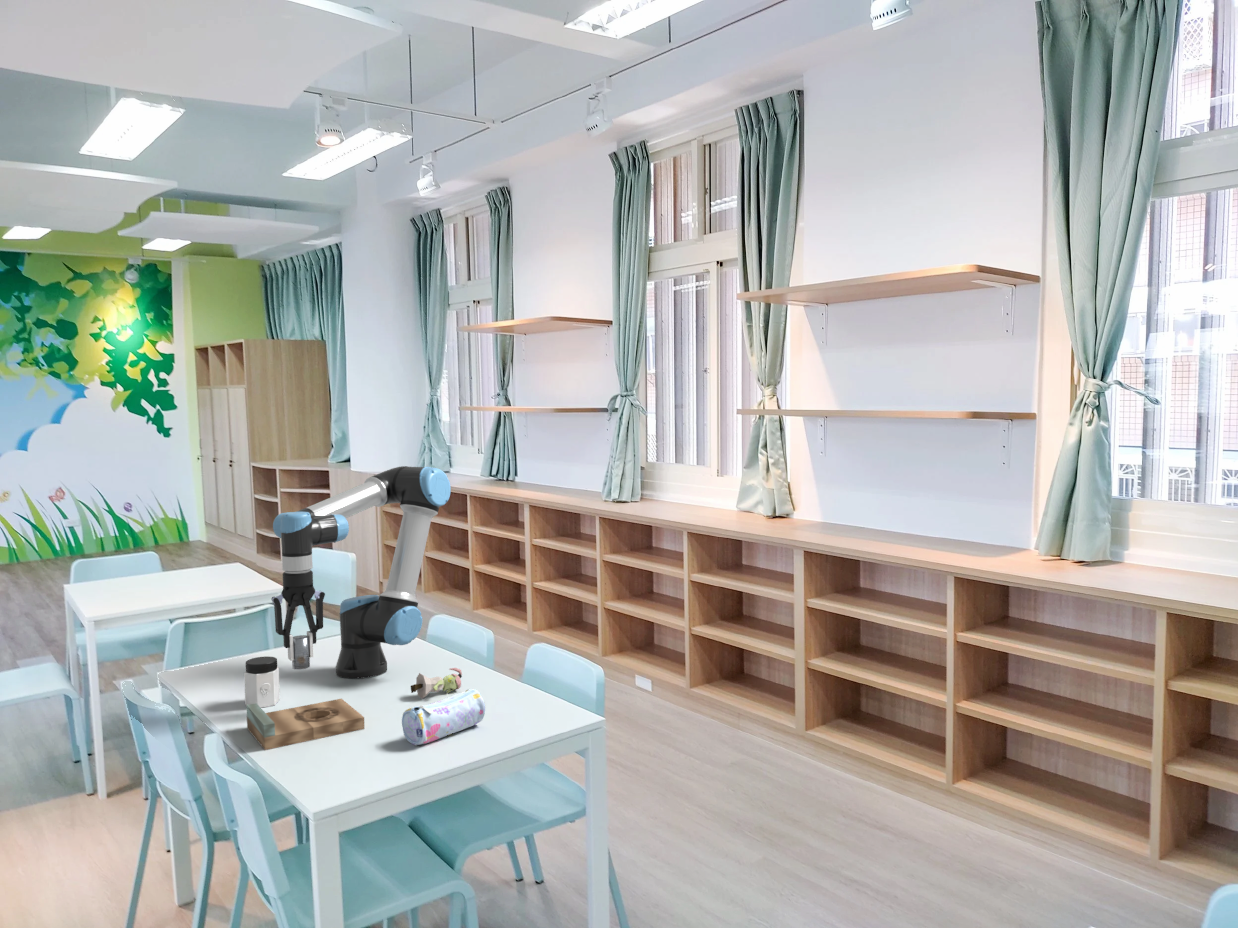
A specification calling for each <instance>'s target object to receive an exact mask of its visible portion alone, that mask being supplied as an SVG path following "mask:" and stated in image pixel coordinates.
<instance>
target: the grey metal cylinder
mask: <svg viewBox="0 0 1238 928" xmlns="http://www.w3.org/2000/svg"><path fill="white" fill-rule="evenodd" d="M293 652H294V660H293V661H292V662H291V667H292V669H293V670H304V669H305V670H306V669H308V668H310V665H311V664H310V663H311V660H310V657H309V636H307V634H305V635H304V634H303V635H301V634H299V635H294V636H293Z"/></svg>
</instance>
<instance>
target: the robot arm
mask: <svg viewBox="0 0 1238 928" xmlns="http://www.w3.org/2000/svg"><path fill="white" fill-rule="evenodd" d="M451 489H452V488H451V482H450V480H449V478H448V475H447V474H446V473H445V472H444V471H443V470H442V469H440V468H437V467H432V466H431V467H430V466H405V465H404V466H403V465H402V466H397V467H393V468H390V469H387V470H384V471H382V472H379V473H377V474H374V475H373V476H370V477H368V478H366V479H365V480H364V483H361V484H359V485H357V486H355V487H352V488H350V489H348V490H345V491H342V492H341V493H338V494H336V495H333V496H331V497H329V498H326V499H324V500H321V501H319V502H317V503H314V504H312V505H309V506H307V507H305V508H302V509H300V510H296V511H289V512H288V511H287V512H281V513H279V514H277V515H276V517H275V518H274V519H273V523H272V530H273V533H274V535H276V536H275V537H277V538H279V539H280V540H281V544H280V545H281V561H282V563H281V565H282V566H281V569H282V571H284V572H282V591H281V593H280V594H278V595H277V596H272V597H271V598H270V599H271V601H272V604H273V607H274V609H273V610H274V622H275V623H274V625H275V627H274V628H275V633H276V634H277V635H279V636H283V647H284V648H285V649H287V659H288V660H289V661H293V660H294V652H293V637H294V636H293V635H292V634H291V629H292V624H293V620H294V614H295V610H296V607H299V606H302V607H303V611H304V615H305V618H306V621H307V625H308V629H309V630H308V631H306V635H307V636H309V657H310V658H314V644H315V645H316V644H317V633H318V631H319V630H323V628H324V599H325V597H326V593H325V592H324V591H323V590H316V589H315V586H314V574H313V573H314V572H313V571H312V569H313V568H314V567H313V546H314V547H315V546H318V545H324V544H331V543H337V542H341V541H344V540H345V539H346V538H347V537H348V535H349V531H350V530H349V529H350V528H349V526H350V525H349V522H348V520H347V519H348V518H350V517H353V516H354V515H357V514H360V513H361V512H364V511H366V510H368V509H370V508H373V507H377V508H380V507H384V506H385V505H390V504H399V507H400V509H401V510H402V518H401V522H400V525H399V531H398V535H397V540H396V545H395V550H394V552H393V558H392V561H391V562H392V563H391V566H390V570H389V575H388V580H387V584H386V587H385V590H384V591H383V592H382V593H380V594H379V595H378V594H367V595H360V596H355V597H348V598H346V599H343V600H342V601H341V603H340V605H339V626H340V628H339V629H340V630H339V631H340V645H341V646H340V650H339V654H338V659H337V661H336V665H335V675H336V676H337V677H339V678H342V679H343V678H344V679H350V680H351V679H352V680H353V679H355V680H357V679H367V678H373V677H377V676H380V675H382V674H384V673H386V672H387V671H388V662H387V658H386V656H385V652H384V650H383V648H382V643H383V644H387V645H390V646H406V645H408V644H411V642H412V641H413V640H416V638H417V636H419V633H420V632H421V629H422V627H423V616H422V612H421V610H420V609H418V606H419V600H418V599H417V597H416V596H415V595H416V590H417V585H418V581H419V577H420V573H421V570H422V569H421V567H422V563H423V560H424V559H423V558H424V556H425V555H424V554H425V549H426V545H427V540H428V537H429V532H430V528H431V523H432V519H433V518H434V517H435V516H437V515H439V514H438V513H439V509H440V507H443V506H445V504H447V503H448V501H449V499H450V496H451ZM313 597H314V598H315V619H314V614H313V612H312V607H311V603H310V601H311V600H312V599H313ZM283 599H284V600H285V602H286V603H287V606H286V614H285V619H284V625H283V615H282V614H283V613H282V603H283Z"/></svg>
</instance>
